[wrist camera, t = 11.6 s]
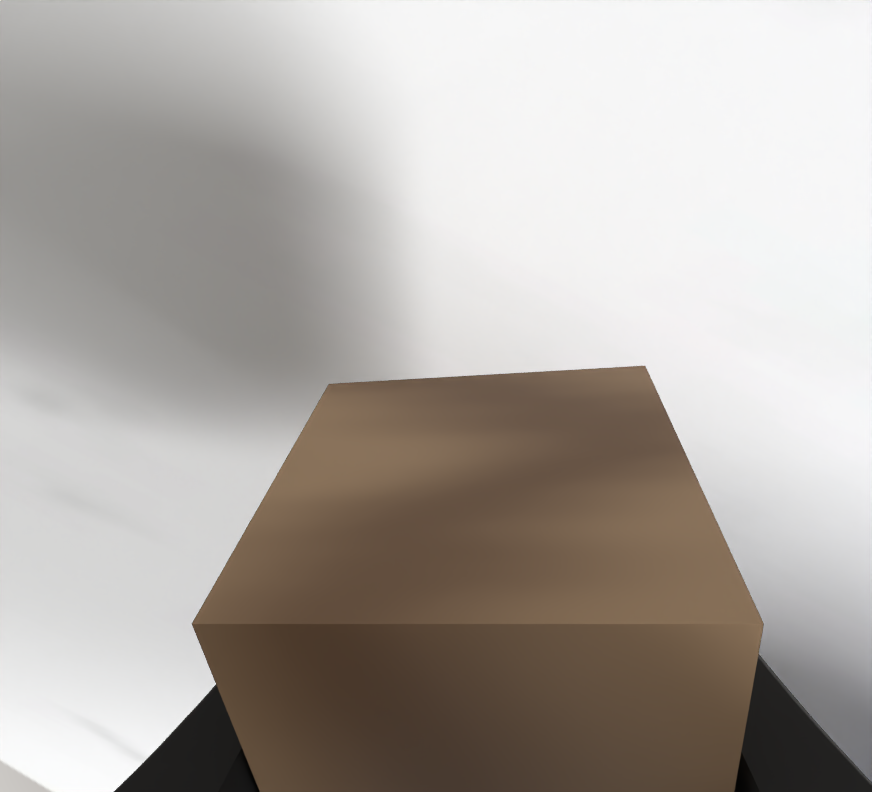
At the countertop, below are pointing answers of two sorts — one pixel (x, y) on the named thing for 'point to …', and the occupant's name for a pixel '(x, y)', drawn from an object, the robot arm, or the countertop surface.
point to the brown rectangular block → (486, 597)
